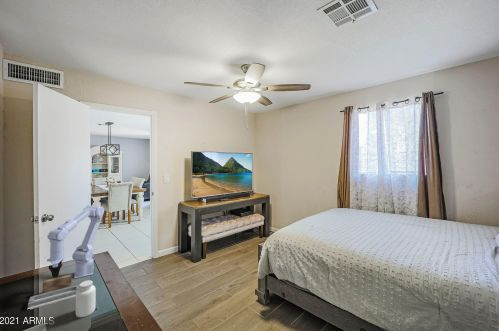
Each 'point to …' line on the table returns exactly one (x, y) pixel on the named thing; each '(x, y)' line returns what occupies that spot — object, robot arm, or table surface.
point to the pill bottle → (85, 299)
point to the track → (52, 297)
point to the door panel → (57, 283)
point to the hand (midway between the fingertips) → (56, 273)
